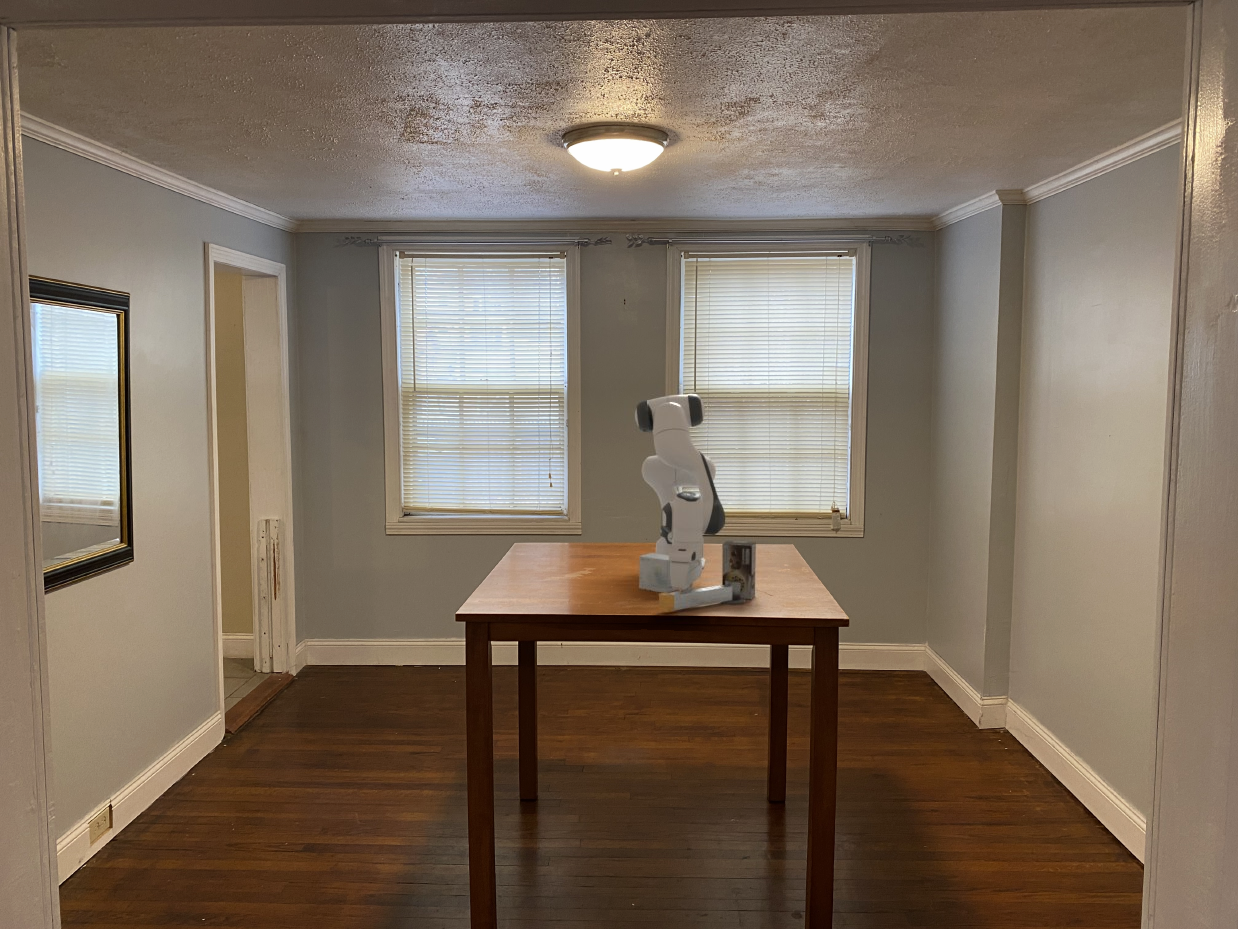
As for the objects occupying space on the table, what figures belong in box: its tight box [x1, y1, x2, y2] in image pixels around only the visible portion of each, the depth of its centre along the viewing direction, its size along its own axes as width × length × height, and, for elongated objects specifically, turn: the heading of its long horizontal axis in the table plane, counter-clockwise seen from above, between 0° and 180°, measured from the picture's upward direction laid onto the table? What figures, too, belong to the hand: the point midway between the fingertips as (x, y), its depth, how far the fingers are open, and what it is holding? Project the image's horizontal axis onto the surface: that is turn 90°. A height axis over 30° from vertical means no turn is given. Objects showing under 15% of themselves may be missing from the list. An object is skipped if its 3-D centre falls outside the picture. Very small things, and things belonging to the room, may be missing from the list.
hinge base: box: [720, 597, 746, 606], centre depth 257 cm, size 7×7×1 cm
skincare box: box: [638, 552, 678, 593], centre depth 272 cm, size 10×6×10 cm, turn 53°
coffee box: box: [721, 540, 757, 600], centre depth 264 cm, size 9×6×16 cm
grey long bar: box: [658, 580, 741, 613], centre depth 250 cm, size 28×4×5 cm, turn 126°
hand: (686, 598), depth 251 cm, fingers closed
